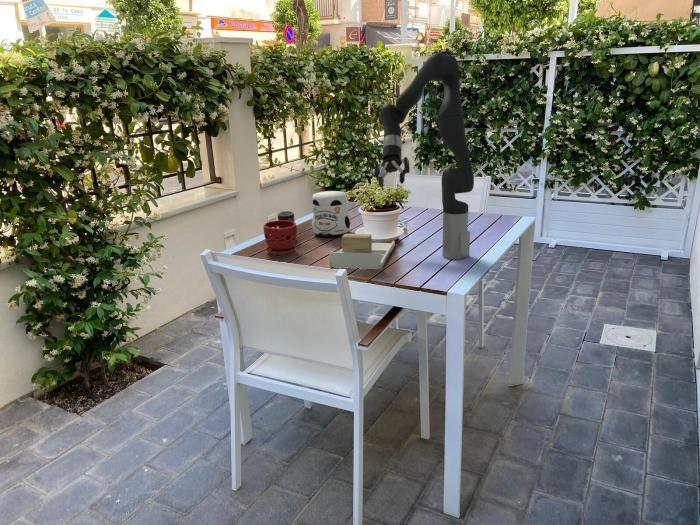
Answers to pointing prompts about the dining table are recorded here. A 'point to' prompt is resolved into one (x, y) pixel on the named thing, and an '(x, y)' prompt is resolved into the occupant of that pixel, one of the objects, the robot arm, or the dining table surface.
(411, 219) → the dining table surface
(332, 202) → the milk container
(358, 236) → the oak block
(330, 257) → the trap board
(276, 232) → the plant pot
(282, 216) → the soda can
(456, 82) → the robot arm
